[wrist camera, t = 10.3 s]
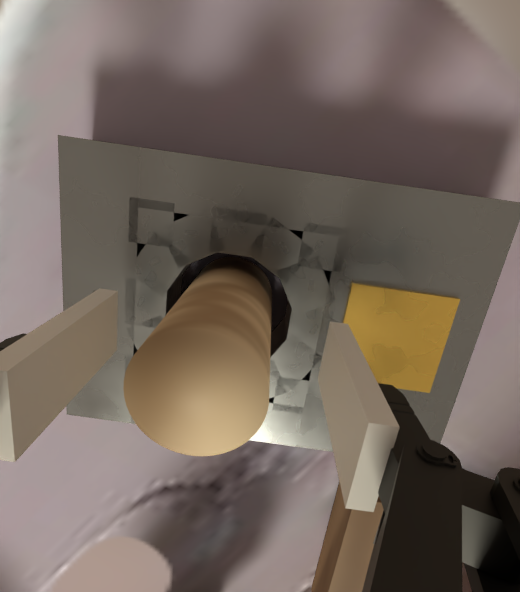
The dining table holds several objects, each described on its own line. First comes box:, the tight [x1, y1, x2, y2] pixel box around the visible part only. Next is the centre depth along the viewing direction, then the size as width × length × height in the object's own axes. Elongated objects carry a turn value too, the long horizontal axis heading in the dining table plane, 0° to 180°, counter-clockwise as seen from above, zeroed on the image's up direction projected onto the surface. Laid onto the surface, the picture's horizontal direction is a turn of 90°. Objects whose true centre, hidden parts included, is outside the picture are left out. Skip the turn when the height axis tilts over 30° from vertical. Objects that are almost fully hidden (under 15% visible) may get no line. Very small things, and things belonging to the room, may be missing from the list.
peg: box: [123, 257, 272, 456], centre depth 16 cm, size 4×4×10 cm
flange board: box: [58, 135, 520, 452], centre depth 19 cm, size 20×14×3 cm
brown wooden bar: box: [311, 481, 384, 592], centre depth 24 cm, size 3×12×3 cm, turn 172°
